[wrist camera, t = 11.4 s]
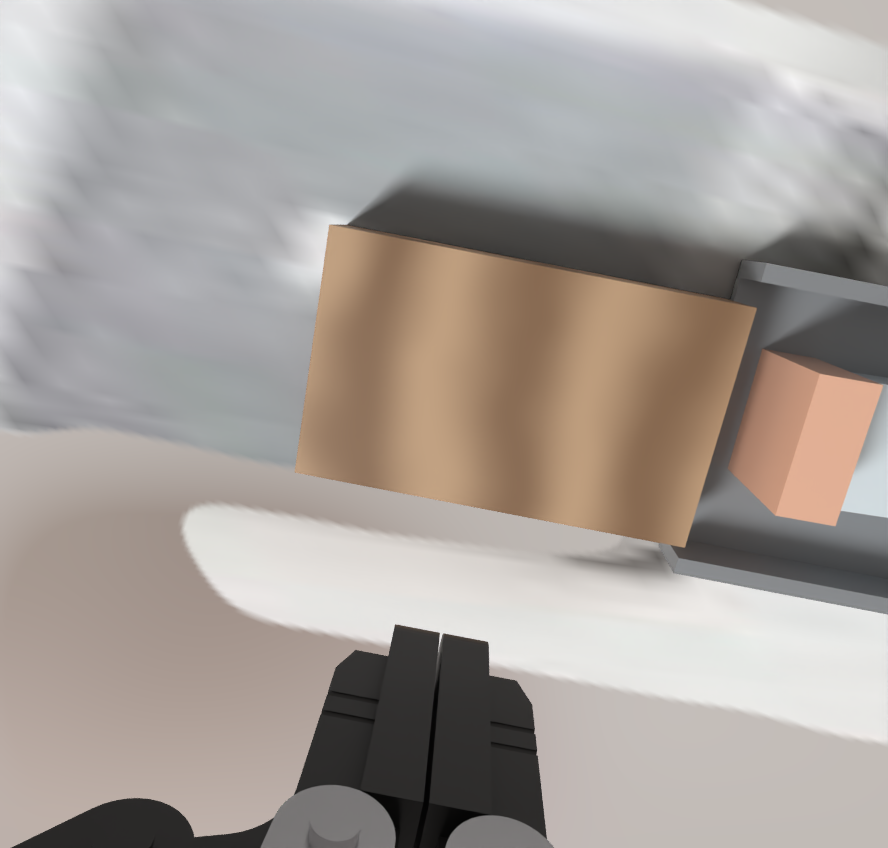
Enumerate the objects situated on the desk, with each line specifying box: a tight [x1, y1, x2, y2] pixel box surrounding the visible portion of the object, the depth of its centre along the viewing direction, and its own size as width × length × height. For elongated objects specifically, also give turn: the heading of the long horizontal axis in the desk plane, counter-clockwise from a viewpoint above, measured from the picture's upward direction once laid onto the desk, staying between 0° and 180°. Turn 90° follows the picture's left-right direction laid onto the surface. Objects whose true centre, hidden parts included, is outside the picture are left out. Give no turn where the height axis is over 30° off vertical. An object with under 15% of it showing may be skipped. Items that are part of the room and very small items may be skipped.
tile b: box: [841, 372, 888, 518], centre depth 34 cm, size 6×6×2 cm
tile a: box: [728, 349, 883, 526], centre depth 32 cm, size 6×6×2 cm
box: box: [659, 260, 888, 614], centre depth 34 cm, size 16×15×3 cm
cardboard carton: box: [295, 225, 757, 548], centre depth 34 cm, size 18×11×4 cm, turn 79°
